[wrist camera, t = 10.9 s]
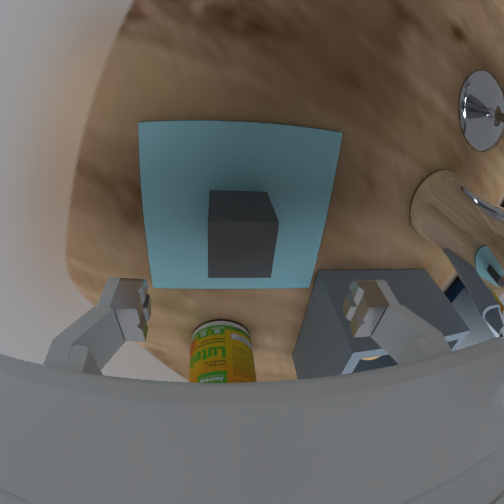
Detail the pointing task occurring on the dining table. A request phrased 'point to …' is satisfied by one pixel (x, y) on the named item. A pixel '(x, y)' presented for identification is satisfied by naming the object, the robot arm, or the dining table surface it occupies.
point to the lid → (234, 202)
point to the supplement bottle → (221, 354)
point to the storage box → (357, 348)
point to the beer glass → (465, 239)
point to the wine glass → (482, 110)
